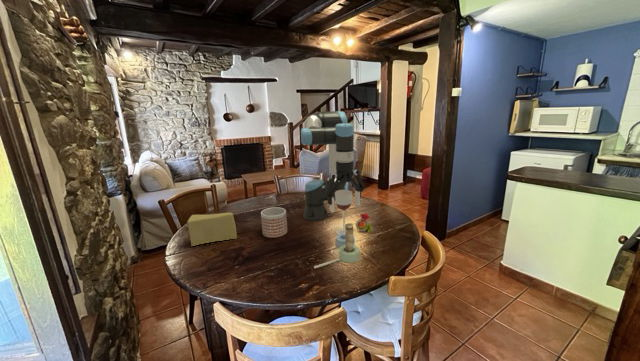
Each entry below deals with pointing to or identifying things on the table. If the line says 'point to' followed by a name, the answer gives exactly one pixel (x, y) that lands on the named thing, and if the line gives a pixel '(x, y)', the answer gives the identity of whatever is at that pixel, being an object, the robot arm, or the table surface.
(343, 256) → the bead
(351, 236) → the wooden dowel
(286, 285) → the table surface
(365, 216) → the red green lumpy piece
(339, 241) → the blue bead
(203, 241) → the cheese
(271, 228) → the planter
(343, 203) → the wineglass
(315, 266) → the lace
